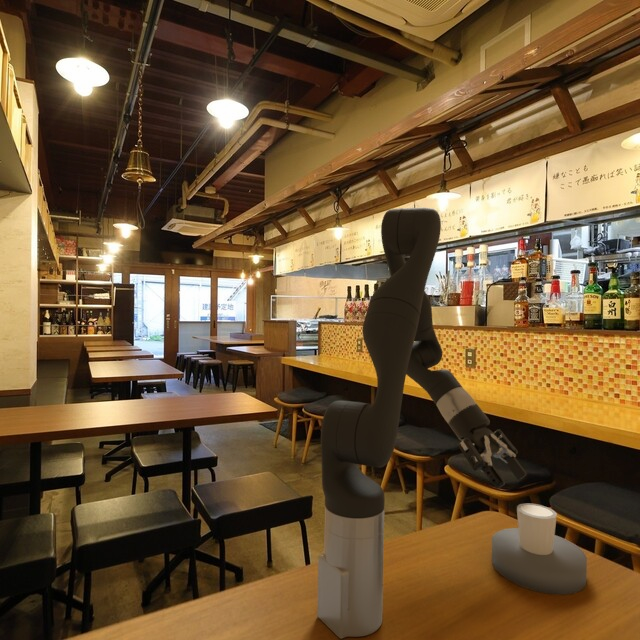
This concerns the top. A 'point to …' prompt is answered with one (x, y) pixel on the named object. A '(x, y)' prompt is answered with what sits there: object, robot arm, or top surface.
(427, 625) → the top surface
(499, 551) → the stand
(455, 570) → the top surface
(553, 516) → the white cup
